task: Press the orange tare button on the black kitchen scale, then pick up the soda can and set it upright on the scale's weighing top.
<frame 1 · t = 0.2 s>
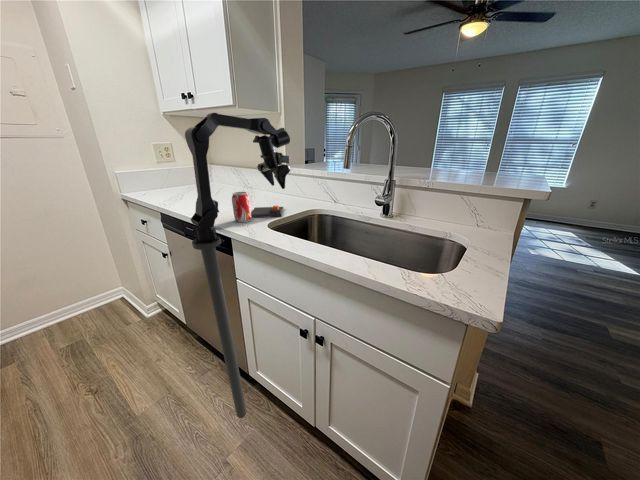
hand: (278, 187, 114), 13 cm above the worktop, tool pointing down, fingers open, 9 cm apart
scale: (267, 213, 122), on the worktop
soda can: (243, 221, 112), on the worktop
tare button: (275, 208, 117), point 3 cm above the worktop, slide at 0.1 cm
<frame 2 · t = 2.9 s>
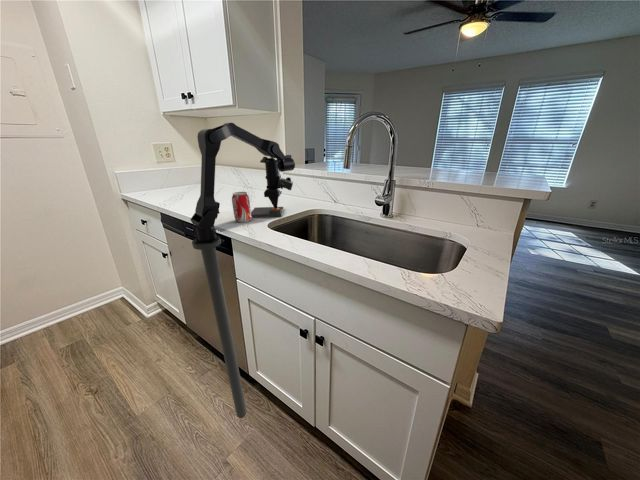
hand: (275, 208, 117), 3 cm above the worktop, tool pointing down, fingers closed, pressing on tare button
tare button: (276, 209, 118), point 3 cm above the worktop, slide at -0.8 cm, touching gripper
everything else where it was.
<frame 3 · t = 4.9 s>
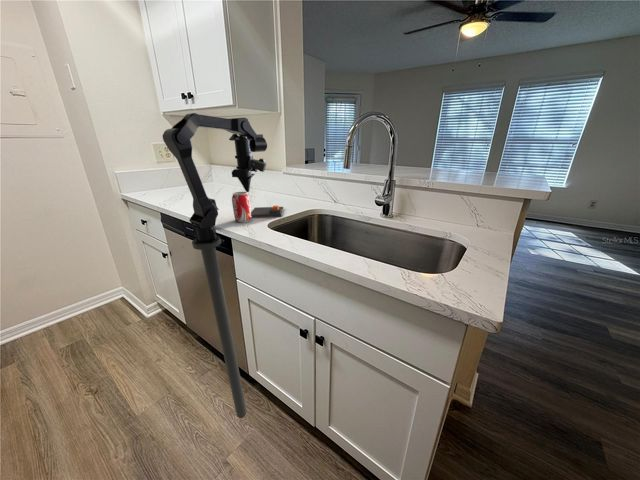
hand: (247, 191, 109), 12 cm above the worktop, tool pointing down, fingers closed
tare button: (275, 208, 117), point 3 cm above the worktop, slide at 0.1 cm
everything else where it was.
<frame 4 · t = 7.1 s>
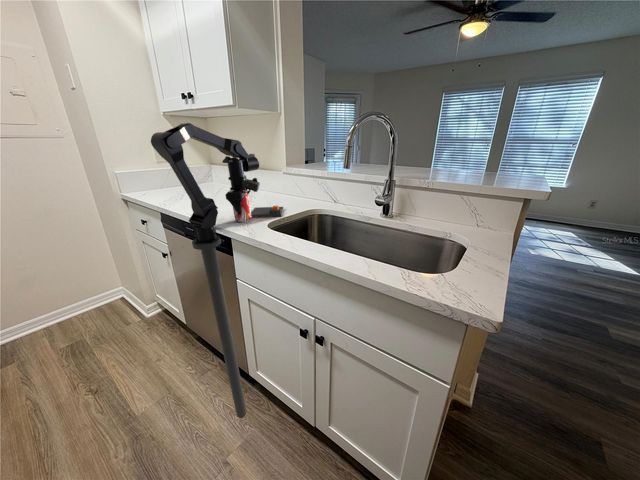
hand: (242, 210, 110), 4 cm above the worktop, tool pointing down
soda can: (243, 221, 112), on the worktop, touching gripper
everything else where it was.
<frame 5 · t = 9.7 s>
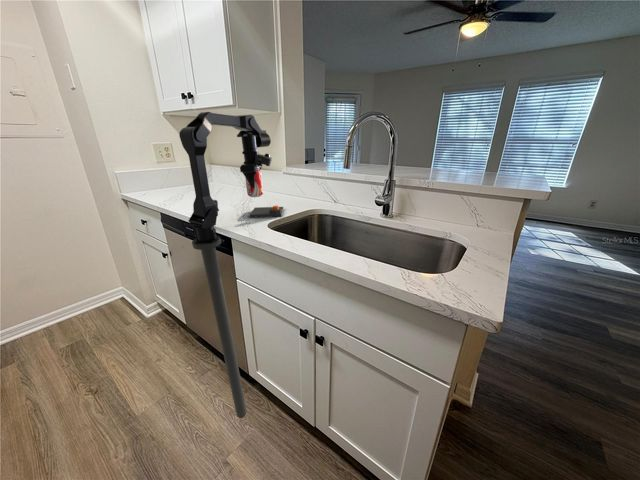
hand: (254, 185, 115), 13 cm above the worktop, tool pointing down, fingers closed on soda can, 7 cm apart
soda can: (255, 196, 116), point 9 cm above the worktop, touching gripper
everything else where it was.
when the fingers open (6 cm above the worktop, at t = 12.3 s): soda can stays where it is, resting on scale.
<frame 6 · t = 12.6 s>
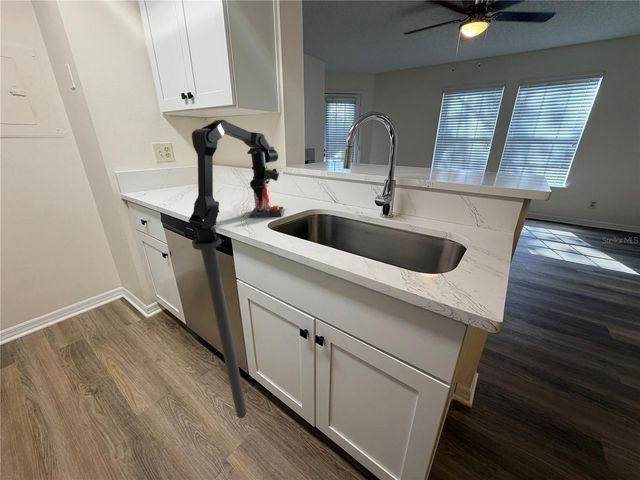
hand: (262, 198, 121), 7 cm above the worktop, tool pointing down, fingers open, 9 cm apart
soda can: (263, 210, 123), point 1 cm above the worktop, touching scale
everything else where it was.
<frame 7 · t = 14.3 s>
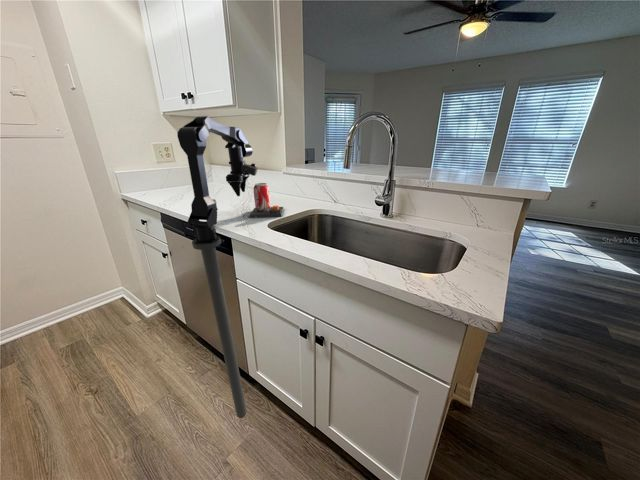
hand: (241, 193, 120), 9 cm above the worktop, tool pointing down, fingers open, 9 cm apart
nothing on the worktop moved.
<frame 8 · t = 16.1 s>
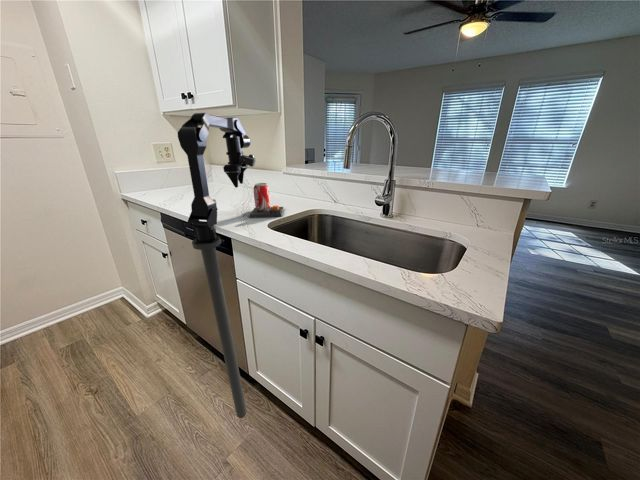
hand: (239, 185, 118), 13 cm above the worktop, tool pointing down, fingers open, 9 cm apart
nothing on the worktop moved.
at the end: tare button pushed in 0.9 cm at the most during the clip, back to where it started at the end; soda can inside the target area on the scale (2.8 cm from its centre), point 1.2 cm above the scale's base; soda can tilted 0° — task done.
